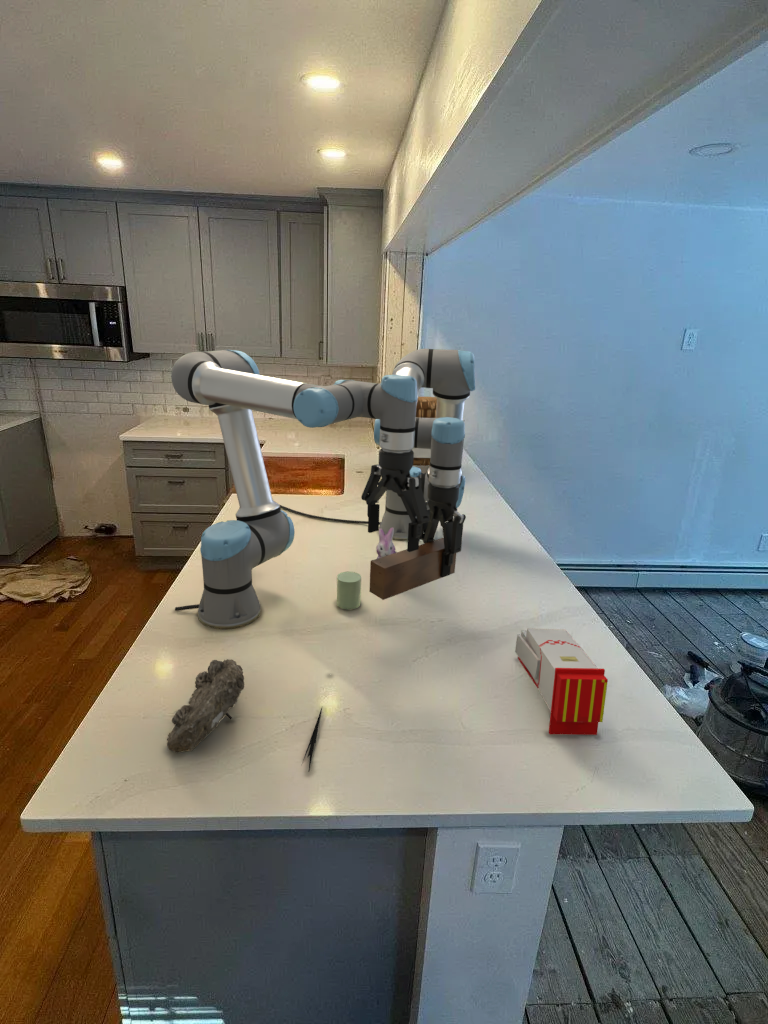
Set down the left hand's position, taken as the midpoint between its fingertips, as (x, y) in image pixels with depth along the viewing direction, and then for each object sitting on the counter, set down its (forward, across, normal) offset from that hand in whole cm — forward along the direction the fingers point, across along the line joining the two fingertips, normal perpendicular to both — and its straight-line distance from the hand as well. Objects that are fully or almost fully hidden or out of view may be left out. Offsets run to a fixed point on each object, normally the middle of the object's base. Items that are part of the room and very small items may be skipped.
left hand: (392, 540), depth 129 cm
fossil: (+25, +1, -46) cm, 52 cm away
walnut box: (+13, 0, +8) cm, 15 cm away
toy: (+25, +37, +14) cm, 47 cm away
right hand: (+12, 0, +16) cm, 20 cm away
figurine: (+25, -24, +21) cm, 41 cm away
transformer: (+25, -100, +107) cm, 149 cm away
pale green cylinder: (+25, -18, +2) cm, 31 cm away
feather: (+25, +14, -30) cm, 42 cm away
